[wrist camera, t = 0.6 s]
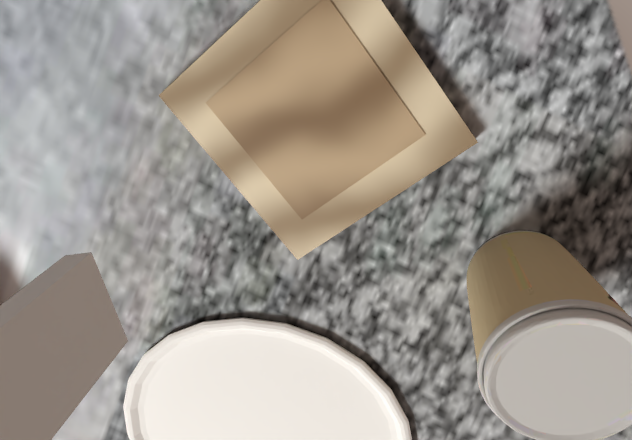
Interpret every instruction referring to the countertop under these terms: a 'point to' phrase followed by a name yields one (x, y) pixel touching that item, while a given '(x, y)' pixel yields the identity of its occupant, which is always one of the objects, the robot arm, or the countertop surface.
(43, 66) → the countertop surface
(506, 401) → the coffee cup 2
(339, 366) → the plate
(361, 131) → the maple board
